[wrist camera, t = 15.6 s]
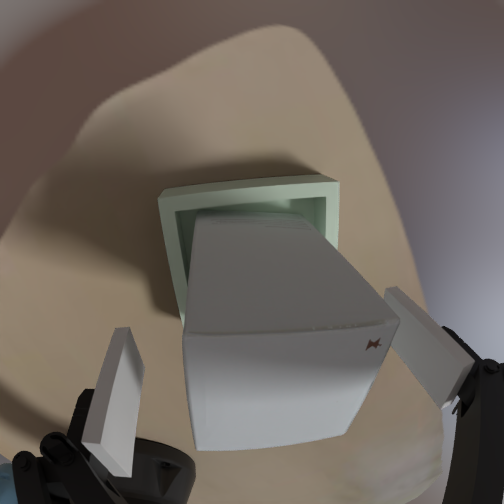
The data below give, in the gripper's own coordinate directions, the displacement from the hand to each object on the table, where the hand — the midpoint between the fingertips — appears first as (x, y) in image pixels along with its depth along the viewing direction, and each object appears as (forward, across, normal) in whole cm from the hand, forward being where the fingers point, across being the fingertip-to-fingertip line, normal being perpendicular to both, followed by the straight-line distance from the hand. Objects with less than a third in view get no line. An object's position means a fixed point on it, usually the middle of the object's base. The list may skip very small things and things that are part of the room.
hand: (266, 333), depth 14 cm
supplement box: (+8, 0, 0) cm, 8 cm away
